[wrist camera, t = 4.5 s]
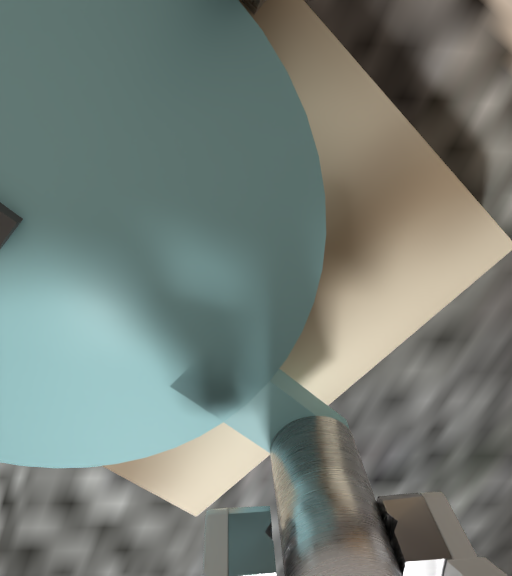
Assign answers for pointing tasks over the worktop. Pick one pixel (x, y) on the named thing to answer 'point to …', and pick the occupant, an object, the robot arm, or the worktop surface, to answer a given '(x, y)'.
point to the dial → (167, 257)
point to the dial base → (348, 246)
